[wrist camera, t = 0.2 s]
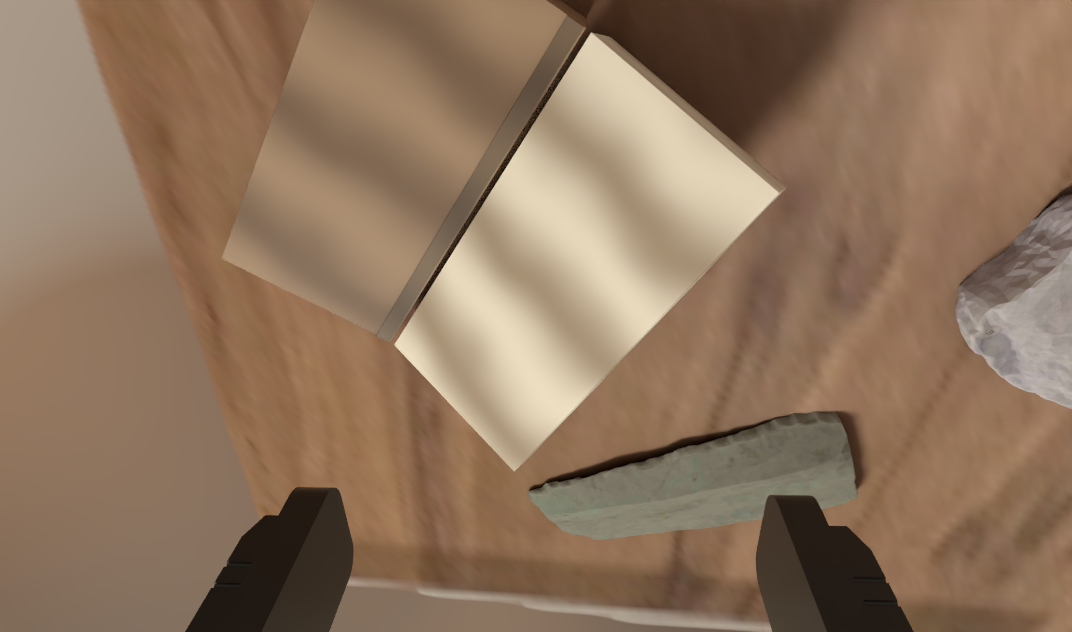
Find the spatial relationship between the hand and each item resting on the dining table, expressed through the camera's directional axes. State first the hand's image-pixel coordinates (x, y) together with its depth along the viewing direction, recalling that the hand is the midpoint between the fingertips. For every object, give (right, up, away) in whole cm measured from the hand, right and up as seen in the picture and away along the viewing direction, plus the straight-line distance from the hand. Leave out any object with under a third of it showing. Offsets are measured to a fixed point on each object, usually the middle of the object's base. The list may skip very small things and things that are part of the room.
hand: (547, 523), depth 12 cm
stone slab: (+11, -8, +34) cm, 37 cm away
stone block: (+29, +5, +23) cm, 37 cm away
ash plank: (+1, +6, +20) cm, 21 cm away
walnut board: (-8, +13, +19) cm, 24 cm away
